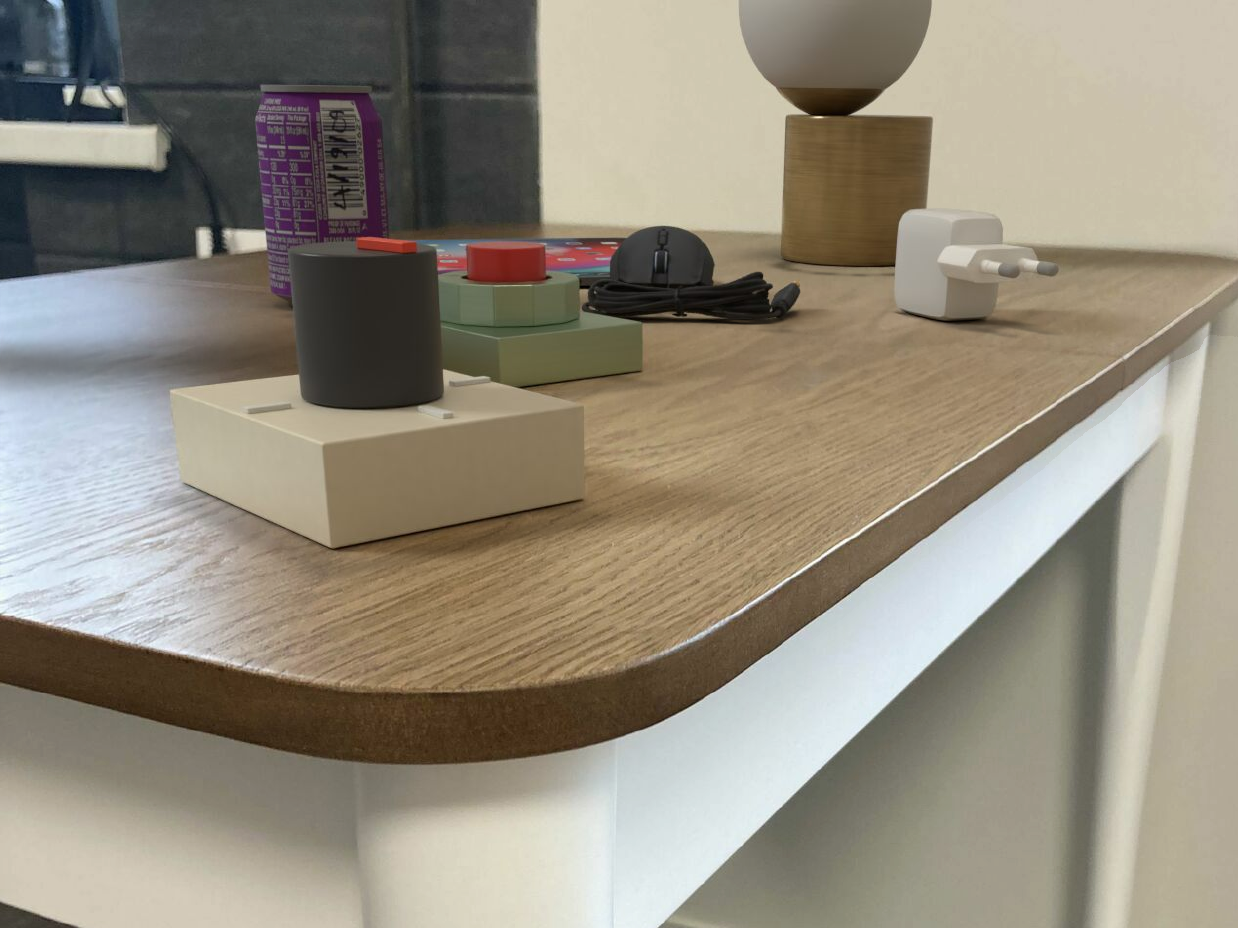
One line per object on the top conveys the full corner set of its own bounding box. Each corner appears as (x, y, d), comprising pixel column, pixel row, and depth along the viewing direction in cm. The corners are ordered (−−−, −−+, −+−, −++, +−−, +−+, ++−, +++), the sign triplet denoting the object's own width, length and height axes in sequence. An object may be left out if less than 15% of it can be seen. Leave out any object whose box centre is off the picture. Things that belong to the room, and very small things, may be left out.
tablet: (430, 290, 94) (429, 277, 94) (392, 250, 116) (392, 239, 116) (716, 285, 99) (717, 272, 99) (628, 247, 121) (628, 237, 121)
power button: (452, 283, 68) (450, 244, 67) (516, 278, 70) (515, 239, 70) (497, 291, 66) (495, 250, 65) (561, 285, 68) (561, 246, 67)
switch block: (380, 359, 70) (374, 272, 69) (517, 343, 75) (515, 262, 74) (500, 390, 64) (496, 294, 62) (643, 370, 68) (643, 281, 67)
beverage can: (410, 298, 91) (397, 86, 86) (367, 314, 85) (352, 86, 80) (301, 294, 92) (283, 85, 87) (251, 309, 86) (229, 84, 81)
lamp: (778, 272, 107) (792, -123, 97) (705, 253, 119) (711, -100, 109) (959, 266, 112) (990, -110, 102) (872, 248, 124) (892, -89, 114)
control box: (179, 481, 48) (167, 384, 47) (417, 444, 54) (412, 356, 52) (331, 549, 41) (321, 437, 40) (586, 499, 47) (584, 398, 45)
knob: (271, 395, 46) (256, 237, 44) (381, 377, 49) (371, 228, 47) (363, 415, 43) (351, 247, 41) (473, 394, 46) (466, 237, 45)
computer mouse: (807, 285, 98) (810, 221, 96) (794, 327, 82) (797, 252, 80) (624, 279, 99) (624, 216, 97) (576, 320, 83) (575, 246, 81)
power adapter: (1065, 333, 81) (1078, 221, 79) (993, 338, 79) (1004, 223, 77) (948, 307, 90) (956, 206, 88) (881, 311, 88) (887, 207, 86)
